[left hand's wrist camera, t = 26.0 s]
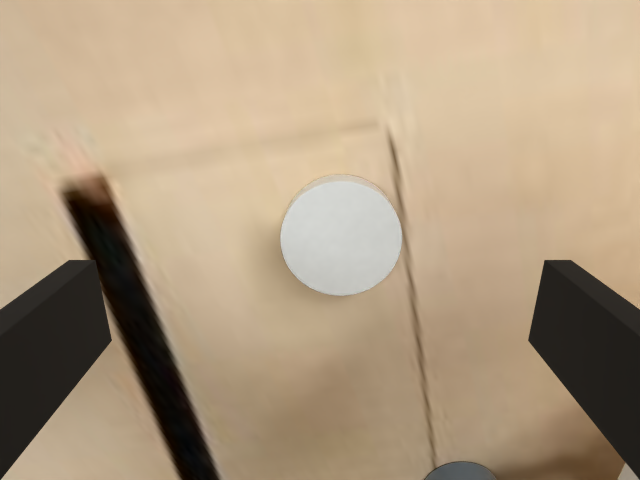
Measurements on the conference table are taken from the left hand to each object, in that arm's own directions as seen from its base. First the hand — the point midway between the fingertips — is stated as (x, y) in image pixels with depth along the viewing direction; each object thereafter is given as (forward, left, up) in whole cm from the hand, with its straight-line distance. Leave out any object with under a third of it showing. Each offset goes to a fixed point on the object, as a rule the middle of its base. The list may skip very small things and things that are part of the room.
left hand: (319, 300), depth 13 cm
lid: (+1, 0, -7) cm, 7 cm away
